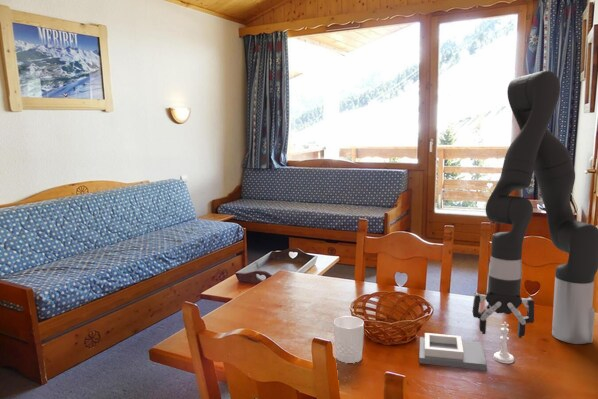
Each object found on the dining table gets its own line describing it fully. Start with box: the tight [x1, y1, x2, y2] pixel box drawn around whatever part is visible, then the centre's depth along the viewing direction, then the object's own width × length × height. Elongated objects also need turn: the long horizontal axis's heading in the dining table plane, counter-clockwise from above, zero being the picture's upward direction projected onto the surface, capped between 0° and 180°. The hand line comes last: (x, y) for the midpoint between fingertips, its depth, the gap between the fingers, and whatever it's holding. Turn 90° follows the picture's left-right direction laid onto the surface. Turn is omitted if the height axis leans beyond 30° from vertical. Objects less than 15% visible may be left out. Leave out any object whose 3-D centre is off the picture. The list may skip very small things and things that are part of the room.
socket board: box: [418, 332, 487, 371], centre depth 120 cm, size 16×12×4 cm
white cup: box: [333, 315, 365, 364], centre depth 120 cm, size 8×8×10 cm
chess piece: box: [492, 321, 515, 364], centre depth 117 cm, size 5×5×10 cm
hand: (501, 334), depth 117 cm, fingers open, 8 cm apart
